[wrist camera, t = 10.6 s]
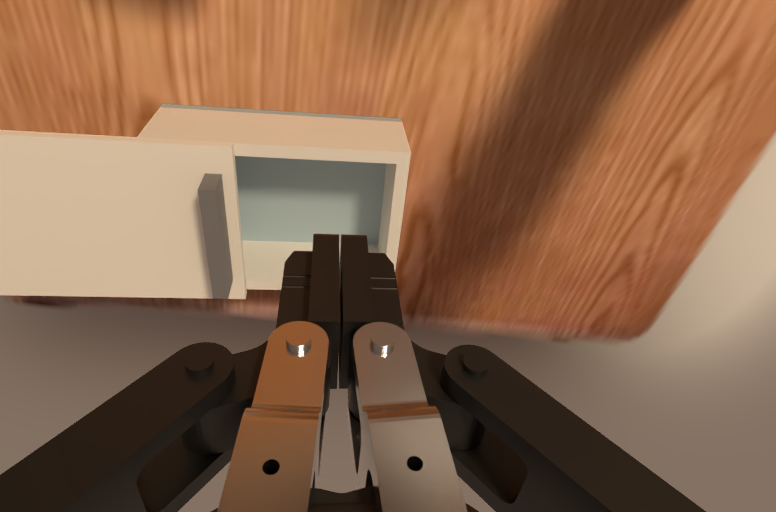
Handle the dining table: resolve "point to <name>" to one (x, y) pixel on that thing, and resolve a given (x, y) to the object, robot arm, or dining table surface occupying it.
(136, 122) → the dining table surface
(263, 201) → the base
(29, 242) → the lid
